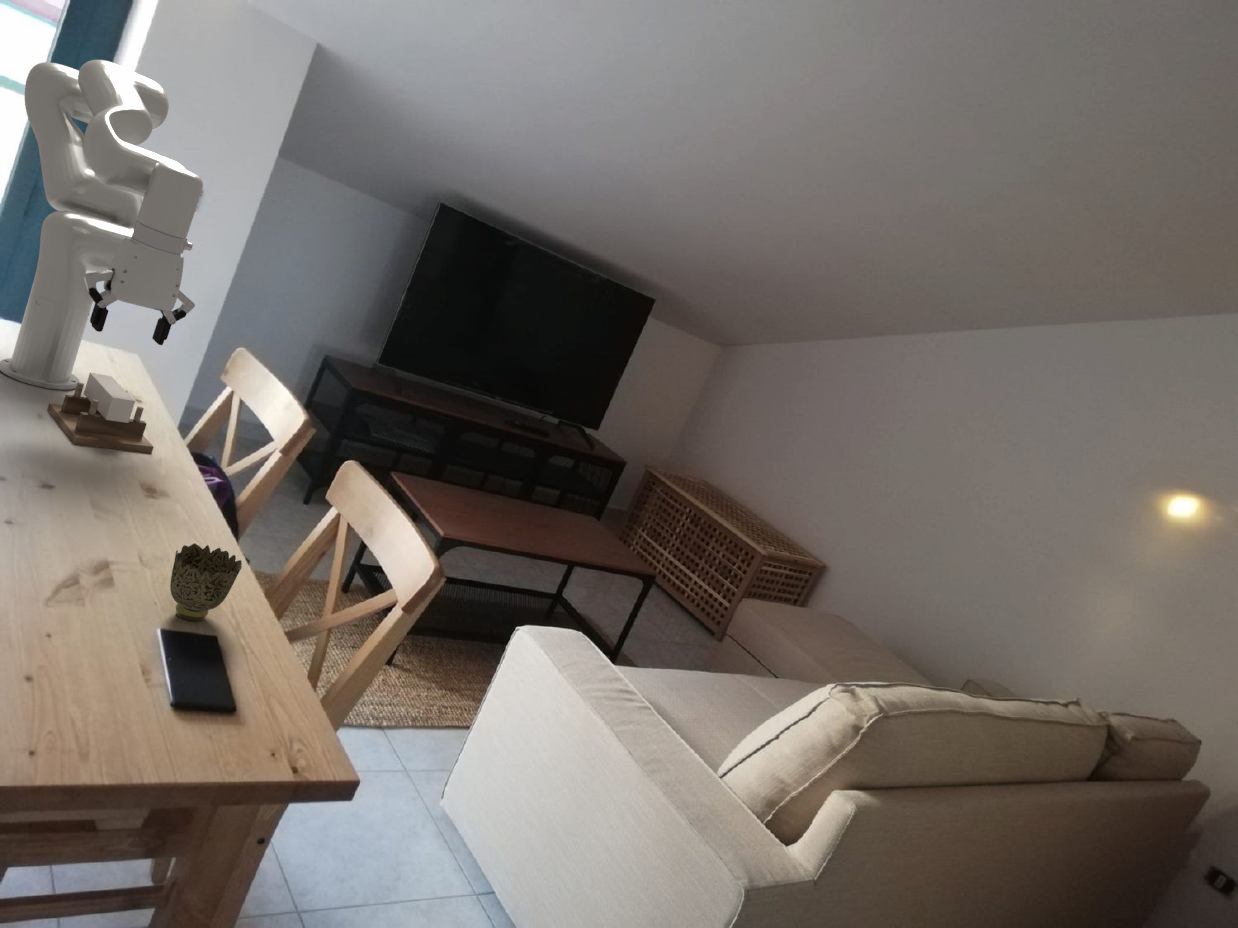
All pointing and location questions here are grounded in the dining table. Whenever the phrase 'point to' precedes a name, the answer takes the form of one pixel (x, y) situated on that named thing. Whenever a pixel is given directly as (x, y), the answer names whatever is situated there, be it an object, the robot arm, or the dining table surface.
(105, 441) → the walnut rack
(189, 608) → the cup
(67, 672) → the dining table surface
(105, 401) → the white rectangular block
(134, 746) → the dining table surface
